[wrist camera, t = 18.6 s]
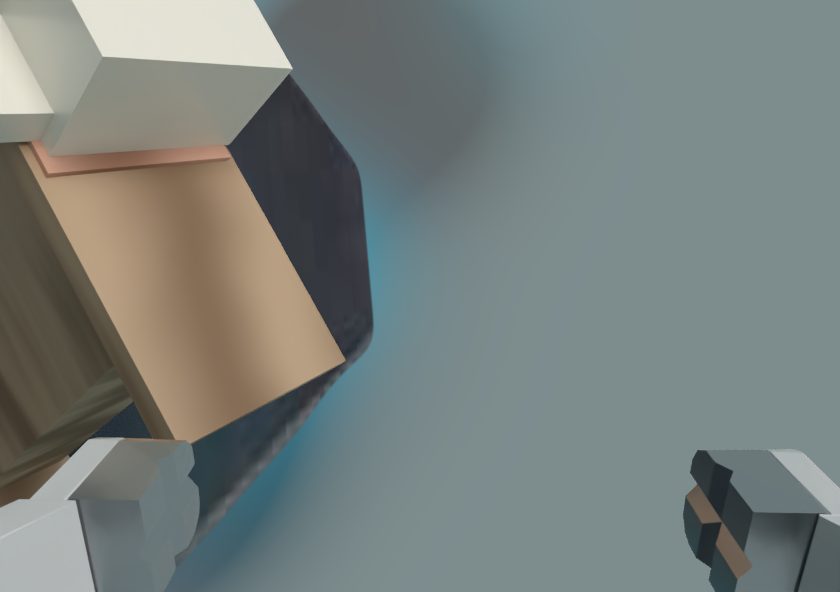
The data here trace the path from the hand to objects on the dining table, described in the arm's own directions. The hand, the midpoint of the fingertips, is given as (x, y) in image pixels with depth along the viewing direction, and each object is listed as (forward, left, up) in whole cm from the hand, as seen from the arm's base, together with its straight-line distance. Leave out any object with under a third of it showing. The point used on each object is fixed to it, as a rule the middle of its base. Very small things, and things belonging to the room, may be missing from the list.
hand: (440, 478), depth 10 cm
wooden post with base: (+4, +10, -34) cm, 36 cm away
